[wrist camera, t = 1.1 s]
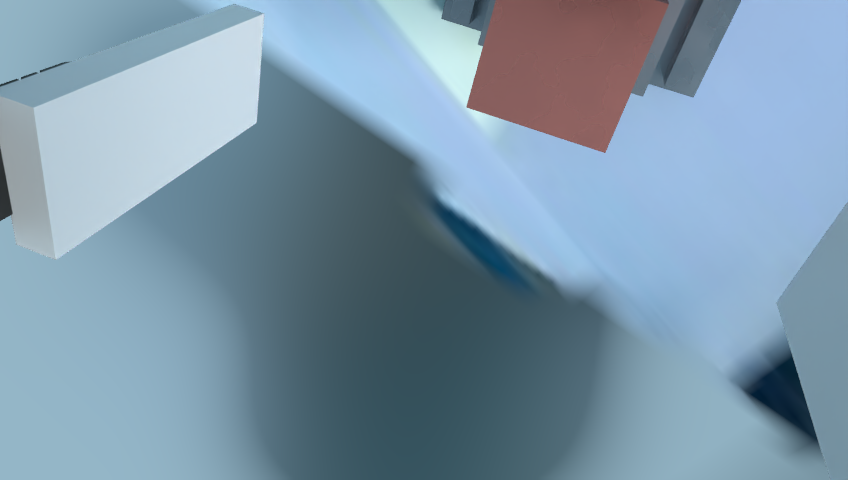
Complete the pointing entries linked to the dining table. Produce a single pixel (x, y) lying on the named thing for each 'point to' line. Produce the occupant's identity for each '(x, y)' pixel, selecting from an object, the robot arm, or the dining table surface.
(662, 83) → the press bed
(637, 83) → the block
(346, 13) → the dining table surface
